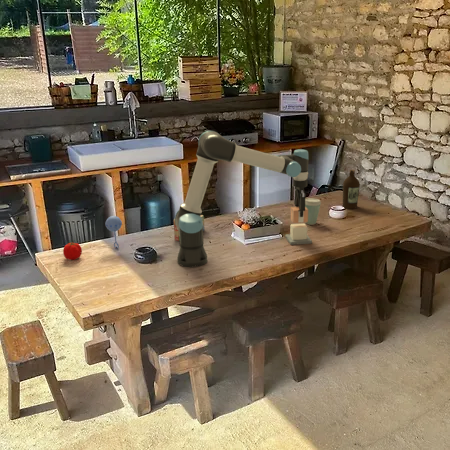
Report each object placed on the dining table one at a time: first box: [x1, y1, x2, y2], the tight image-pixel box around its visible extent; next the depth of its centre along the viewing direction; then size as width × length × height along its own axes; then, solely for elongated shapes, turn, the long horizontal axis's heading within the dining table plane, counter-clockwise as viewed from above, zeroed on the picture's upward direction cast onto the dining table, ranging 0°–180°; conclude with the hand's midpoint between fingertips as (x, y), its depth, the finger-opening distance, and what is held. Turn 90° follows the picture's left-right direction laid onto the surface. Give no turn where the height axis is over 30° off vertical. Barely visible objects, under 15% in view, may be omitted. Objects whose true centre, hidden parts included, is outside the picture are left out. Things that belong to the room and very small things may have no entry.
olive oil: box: [342, 169, 361, 210], centre depth 324 cm, size 11×11×25 cm
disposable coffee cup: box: [304, 197, 322, 225], centre depth 298 cm, size 11×11×15 cm
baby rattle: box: [104, 215, 123, 249], centre depth 266 cm, size 9×9×18 cm
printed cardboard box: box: [173, 214, 205, 242], centre depth 283 cm, size 21×6×12 cm, turn 149°
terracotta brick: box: [290, 206, 308, 224], centre depth 270 cm, size 8×6×7 cm
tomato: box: [62, 242, 83, 261], centre depth 255 cm, size 9×10×8 cm
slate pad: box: [284, 233, 313, 246], centre depth 274 cm, size 12×12×2 cm
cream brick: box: [289, 223, 308, 240], centre depth 273 cm, size 8×6×7 cm
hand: (299, 220), depth 271 cm, fingers closed on terracotta brick, 6 cm apart
